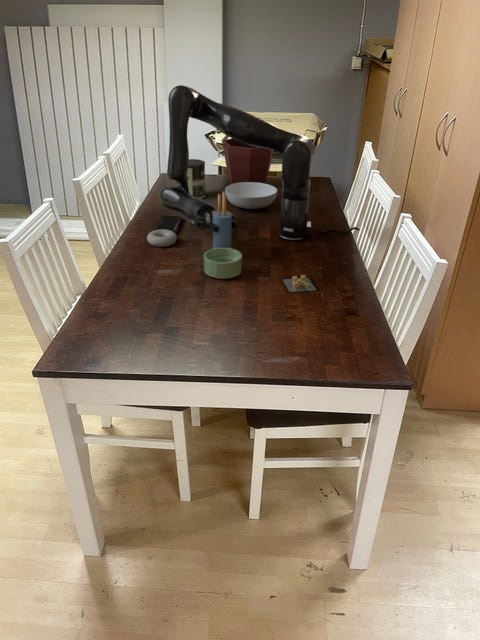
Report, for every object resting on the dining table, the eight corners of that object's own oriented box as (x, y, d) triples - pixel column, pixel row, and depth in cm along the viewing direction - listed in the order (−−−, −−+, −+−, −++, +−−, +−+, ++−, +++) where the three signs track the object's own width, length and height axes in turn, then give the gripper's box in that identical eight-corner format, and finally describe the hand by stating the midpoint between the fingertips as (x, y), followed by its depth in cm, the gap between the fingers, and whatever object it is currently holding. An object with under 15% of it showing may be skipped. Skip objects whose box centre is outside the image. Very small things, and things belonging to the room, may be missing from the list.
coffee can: (206, 192, 222) (205, 159, 215) (204, 200, 214) (204, 165, 206) (182, 191, 222) (181, 158, 215) (179, 199, 214) (178, 165, 206)
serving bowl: (285, 203, 212) (286, 187, 208) (259, 218, 196) (260, 200, 193) (242, 194, 221) (243, 178, 217) (214, 207, 206) (214, 190, 202)
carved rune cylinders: (293, 289, 148) (293, 283, 147) (288, 281, 152) (288, 275, 151) (310, 288, 149) (310, 282, 148) (304, 280, 153) (305, 274, 152)
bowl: (243, 264, 161) (243, 248, 158) (239, 281, 151) (240, 264, 149) (206, 262, 162) (206, 246, 159) (201, 279, 152) (201, 262, 149)
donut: (143, 247, 171) (171, 249, 170) (142, 237, 170) (171, 239, 168) (153, 236, 180) (180, 238, 178) (152, 226, 178) (180, 228, 176)
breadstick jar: (232, 246, 168) (233, 189, 157) (230, 254, 162) (231, 196, 152) (213, 245, 168) (214, 188, 158) (211, 253, 163) (211, 194, 153)
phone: (182, 216, 193) (175, 231, 180) (182, 219, 194) (175, 234, 181) (161, 215, 194) (153, 230, 181) (162, 218, 194) (153, 233, 181)
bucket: (273, 178, 242) (276, 122, 229) (277, 193, 224) (281, 132, 211) (221, 177, 242) (221, 121, 229) (221, 192, 223) (221, 132, 210)
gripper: (179, 203, 165) (206, 220, 153) (217, 196, 172) (246, 211, 161) (179, 226, 169) (206, 243, 157) (216, 217, 176) (245, 234, 165)
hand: (226, 227), depth 159 cm, fingers closed on breadstick jar, 6 cm apart
